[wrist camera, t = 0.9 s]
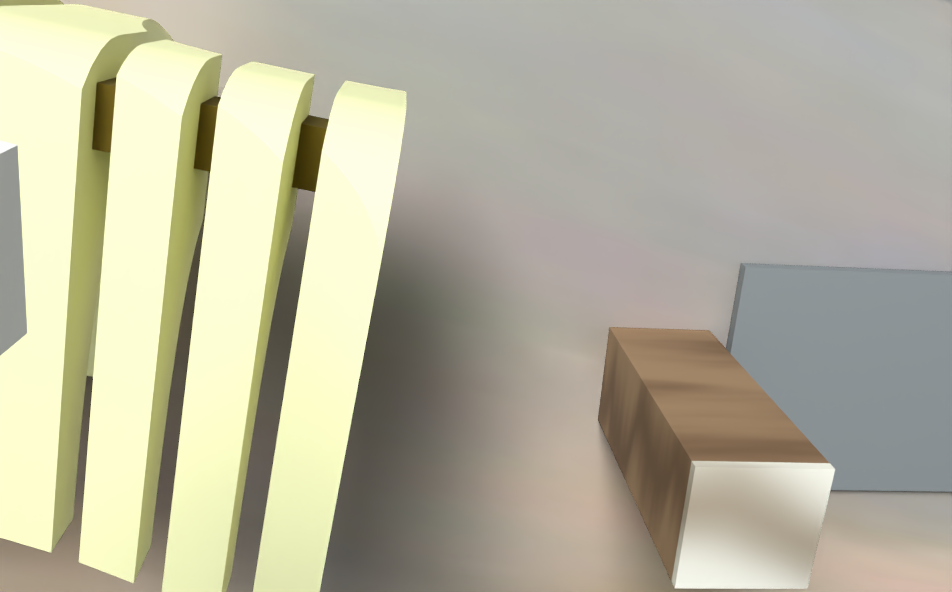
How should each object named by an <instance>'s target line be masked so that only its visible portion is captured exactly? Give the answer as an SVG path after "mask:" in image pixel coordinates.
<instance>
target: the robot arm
mask: <svg viewBox="0 0 952 592" xmlns="http://www.w3.org/2000/svg"><path fill="white" fill-rule="evenodd" d="M26 334H27V317H26V297H25V278H24V259H23V239H22V220H21V201H20V181H19V162H18V145H16V144H12V143H8V142H4V141H0V356H1V355H2V354H3V353H4V352H5V351H7V350H8V349H9V348H10V347H11V346H13V345H14V344H15V343H16V342H17V341H19V340H20V339H21V338H22V337H23V336H25V335H26Z"/></svg>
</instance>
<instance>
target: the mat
mask: <svg viewBox="0 0 952 592" xmlns="http://www.w3.org/2000/svg"><path fill="white" fill-rule="evenodd" d="M726 349H727V351H728V352H729V353H730V354H731V355H732V356H733V357H734V358H735V359H736V360H737V362H738V363H739V364H740V365H741V366H742V367H743V368H744V369H745V370H746V371H747V373H748V374H749V375H750V376H751V377H752V378H753V379H754V380H755V381H756V382H757V384H758V385H759V386H760V387H761V388H762V389H763V390H764V391H765V392H766V393H767V395H768V396H769V397H770V398H771V399H772V400H773V401H774V402H775V403H776V405H777V406H778V407H779V408H780V409H781V410H782V411H783V412H784V413H785V414H786V416H787V417H788V418H789V419H790V420H791V421H792V422H793V423H794V424H795V425H796V427H797V428H798V429H799V430H800V431H801V432H802V433H803V434H804V435H805V436H806V438H807V439H808V440H809V441H810V442H811V443H812V444H813V445H814V446H815V447H816V449H817V450H818V451H819V452H820V453H821V454H822V455H823V456H824V457H825V459H826V460H827V461H828V462H829V463H830V464H831V465H832V466H833V467H834V468H835V472H834V477H833V481H832V485H831V490H872V491H943V492H952V272H944V271H919V270H894V269H869V268H845V267H820V266H795V265H770V264H745V263H741V267H740V272H739V278H738V284H737V290H736V295H735V301H734V307H733V313H732V318H731V324H730V330H729V335H728V341H727V347H726Z"/></svg>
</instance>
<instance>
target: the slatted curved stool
mask: <svg viewBox="0 0 952 592" xmlns="http://www.w3.org/2000/svg"><path fill="white" fill-rule="evenodd" d="M221 60H222V54H219V53H215V52H211V51H207V50H203V49H199V48H195V47H191V46H188V45H184V44H180V43H177V42H174V41H173V39H172V38H171V36H170V35H169V34H168V33H167V32H166V31H165V29H164V28H163V27H162V26H161V25H160V24H159V23H157V22H156V21H154V20H152V19H147V18H142V17H138V16H133V15H128V14H123V13H119V12H114V11H109V10H104V9H99V8H95V7H90V6H85V5H80V4H65V5H64V4H63V3H62V2H61V1H60V0H0V141H4V142H8V143H12V144H16V145H18V162H19V181H20V201H21V220H22V239H23V259H24V278H25V297H26V317H27V334H26V335H25V336H23V337H22V338H21V339H20V340H19V341H17V342H16V343H15V344H14V345H13V346H11V347H10V348H9V349H8V350H7V351H5V352H4V353H3V354H2V355H1V356H0V538H3V539H7V540H10V541H13V542H17V543H20V544H24V545H27V546H30V547H34V548H37V549H40V550H44V551H47V552H50V553H51V552H52V551H53V549H54V548H55V546H56V544H57V543H58V541H59V540H60V538H61V537H62V535H63V533H64V532H65V530H66V529H67V527H68V526H69V524H70V522H71V521H72V519H73V515H74V503H75V490H76V478H77V467H78V456H79V445H80V434H81V424H82V414H83V404H84V395H85V386H86V377H87V376H92V377H93V386H92V399H91V411H90V424H89V437H88V450H87V463H86V475H85V488H84V501H83V514H82V527H81V539H80V552H79V562H80V563H82V564H85V565H87V566H90V567H93V568H95V569H98V570H100V571H103V572H106V573H108V574H111V575H113V576H116V577H118V578H121V579H124V580H126V581H129V582H131V583H134V582H135V579H136V577H137V575H138V573H139V571H140V569H141V566H142V564H143V562H144V560H145V558H146V556H147V553H148V551H149V549H150V547H151V541H152V533H153V524H154V515H155V507H156V498H157V490H158V481H159V473H160V465H161V457H162V449H163V441H164V433H165V425H166V418H167V410H168V403H169V395H170V388H171V381H172V374H173V367H174V361H175V354H176V347H177V341H178V335H179V328H180V322H181V316H182V311H183V305H184V299H185V294H186V289H187V284H188V278H189V274H190V269H191V264H192V260H193V255H194V251H195V247H196V243H197V239H198V235H199V232H200V228H201V225H202V222H203V216H204V208H205V199H206V190H207V182H208V173H209V172H210V179H209V188H208V197H207V205H206V214H205V222H204V231H203V240H202V248H201V257H200V265H199V274H198V283H197V291H196V300H195V309H194V317H193V326H192V334H191V343H190V352H189V360H188V369H187V378H186V386H185V395H184V403H183V412H182V421H181V429H180V438H179V447H178V455H177V464H176V472H175V481H174V490H173V498H172V507H171V515H170V524H169V533H168V541H167V550H166V559H165V567H164V576H163V584H162V592H226V591H227V588H228V585H229V581H230V578H231V575H232V568H233V561H234V554H235V547H236V541H237V534H238V527H239V521H240V514H241V508H242V501H243V494H244V488H245V481H246V475H247V468H248V462H249V455H250V449H251V443H252V436H253V430H254V424H255V417H256V411H257V405H258V399H259V393H260V387H261V380H262V374H263V369H264V363H265V357H266V351H267V345H268V339H269V334H270V328H271V323H272V317H273V312H274V306H275V301H276V296H277V291H278V285H279V280H280V276H281V271H282V266H283V261H284V257H285V253H286V248H287V244H288V240H289V236H290V232H291V228H292V224H293V218H294V211H295V204H296V197H297V191H298V189H303V190H309V191H314V192H315V199H314V205H313V211H312V218H311V224H310V231H309V237H308V243H307V250H306V256H305V263H304V269H303V275H302V282H301V288H300V294H299V301H298V307H297V314H296V320H295V326H294V333H293V339H292V346H291V352H290V358H289V365H288V371H287V377H286V384H285V390H284V397H283V403H282V409H281V416H280V422H279V429H278V435H277V441H276V448H275V454H274V460H273V467H272V473H271V480H270V486H269V492H268V499H267V505H266V512H265V518H264V524H263V531H262V537H261V543H260V550H259V556H258V563H257V569H256V575H255V582H254V588H253V592H320V587H321V581H322V576H323V571H324V565H325V560H326V555H327V549H328V544H329V538H330V533H331V528H332V522H333V517H334V512H335V506H336V501H337V496H338V490H339V485H340V479H341V474H342V469H343V463H344V458H345V453H346V447H347V442H348V436H349V431H350V426H351V420H352V415H353V410H354V404H355V399H356V394H357V388H358V383H359V377H360V372H361V367H362V361H363V356H364V351H365V345H366V340H367V334H368V329H369V324H370V318H371V313H372V308H373V302H374V297H375V292H376V286H377V281H378V275H379V270H380V265H381V259H382V254H383V248H384V243H385V237H386V231H387V226H388V220H389V214H390V209H391V203H392V197H393V191H394V185H395V179H396V173H397V167H398V161H399V155H400V149H401V142H402V136H403V129H404V122H405V114H406V92H405V91H400V90H394V89H388V88H383V87H377V86H372V85H367V84H361V83H356V82H351V81H345V83H344V84H343V85H342V87H341V88H340V90H339V91H338V93H337V95H336V97H335V100H334V103H333V107H332V110H331V114H330V118H329V119H325V118H320V117H315V116H310V115H309V111H310V104H311V97H312V91H313V84H314V77H315V74H310V73H305V72H300V71H295V70H291V69H286V68H281V67H276V66H272V65H267V64H262V63H258V62H253V61H252V62H250V63H248V64H245V65H243V66H240V67H238V68H237V69H236V70H235V71H234V72H233V74H232V75H231V77H230V78H229V80H228V82H227V84H226V86H225V89H224V91H223V94H222V96H221V97H217V95H218V86H219V78H220V69H221Z"/></svg>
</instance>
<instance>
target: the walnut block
mask: <svg viewBox="0 0 952 592" xmlns="http://www.w3.org/2000/svg"><path fill="white" fill-rule="evenodd" d="M598 421H599V423H600V425H601V427H602V429H603V432H604V434H605V436H606V438H607V440H608V443H609V445H610V447H611V449H612V451H613V454H614V456H615V458H616V460H617V462H618V465H619V467H620V469H621V471H622V473H623V476H624V478H625V480H626V482H627V484H628V487H629V489H630V491H631V493H632V495H633V498H634V500H635V502H636V504H637V507H638V509H639V511H640V513H641V515H642V518H643V520H644V522H645V524H646V526H647V529H648V531H649V533H650V535H651V537H652V540H653V542H654V544H655V546H656V548H657V551H658V553H659V555H660V557H661V559H662V562H663V564H664V566H665V568H666V570H667V573H668V575H669V577H670V579H671V581H672V584H673V586H674V588H695V589H808V584H809V580H810V576H811V572H812V567H813V563H814V559H815V554H816V550H817V546H818V541H819V537H820V533H821V528H822V524H823V520H824V516H825V511H826V507H827V503H828V498H829V494H830V490H831V485H832V481H833V477H834V472H835V468H834V467H833V466H832V465H831V464H830V463H829V462H828V461H827V460H826V459H825V457H824V456H823V455H822V454H821V453H820V452H819V451H818V450H817V449H816V447H815V446H814V445H813V444H812V443H811V442H810V441H809V440H808V439H807V438H806V436H805V435H804V434H803V433H802V432H801V431H800V430H799V429H798V428H797V427H796V425H795V424H794V423H793V422H792V421H791V420H790V419H789V418H788V417H787V416H786V414H785V413H784V412H783V411H782V410H781V409H780V408H779V407H778V406H777V405H776V403H775V402H774V401H773V400H772V399H771V398H770V397H769V396H768V395H767V393H766V392H765V391H764V390H763V389H762V388H761V387H760V386H759V385H758V384H757V382H756V381H755V380H754V379H753V378H752V377H751V376H750V375H749V374H748V373H747V371H746V370H745V369H744V368H743V367H742V366H741V365H740V364H739V363H738V362H737V360H736V359H735V358H734V357H733V356H732V355H731V354H730V353H729V352H728V351H727V349H726V348H725V347H724V346H723V345H722V344H721V343H720V342H719V341H718V339H717V338H716V337H715V336H714V335H713V334H712V333H711V332H710V331H709V330H679V329H648V328H618V327H609V335H608V343H607V351H606V359H605V367H604V375H603V383H602V391H601V399H600V407H599V415H598Z"/></svg>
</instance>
